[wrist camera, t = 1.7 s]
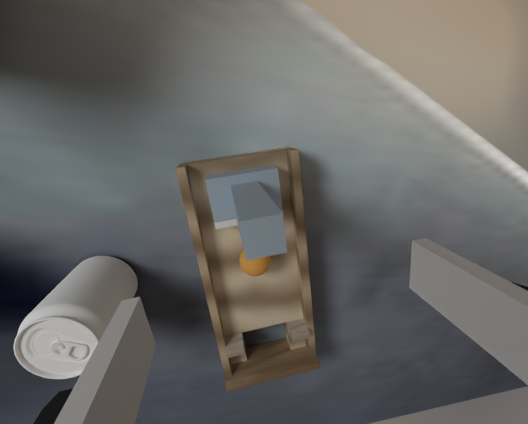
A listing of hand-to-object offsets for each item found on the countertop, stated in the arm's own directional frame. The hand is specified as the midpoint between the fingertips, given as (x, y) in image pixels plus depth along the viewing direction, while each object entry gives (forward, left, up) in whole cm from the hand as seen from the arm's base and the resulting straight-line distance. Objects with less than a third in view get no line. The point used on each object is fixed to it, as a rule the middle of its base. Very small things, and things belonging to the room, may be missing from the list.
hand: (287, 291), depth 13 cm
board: (+12, 0, -24) cm, 27 cm away
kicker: (0, 0, -21) cm, 21 cm away
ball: (+9, 0, -20) cm, 21 cm away
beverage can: (+10, -20, -24) cm, 33 cm away
